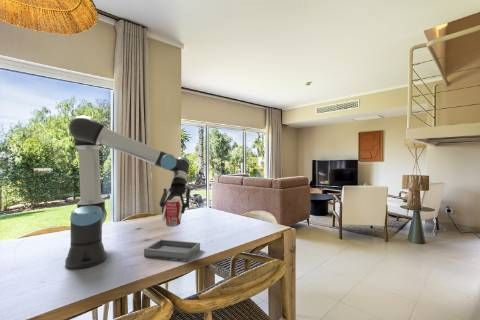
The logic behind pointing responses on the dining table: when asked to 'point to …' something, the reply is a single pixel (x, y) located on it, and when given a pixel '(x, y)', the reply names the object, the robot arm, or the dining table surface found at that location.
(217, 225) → the dining table surface
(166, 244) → the tray
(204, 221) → the dining table surface
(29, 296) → the dining table surface
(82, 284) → the dining table surface
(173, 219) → the soda can
